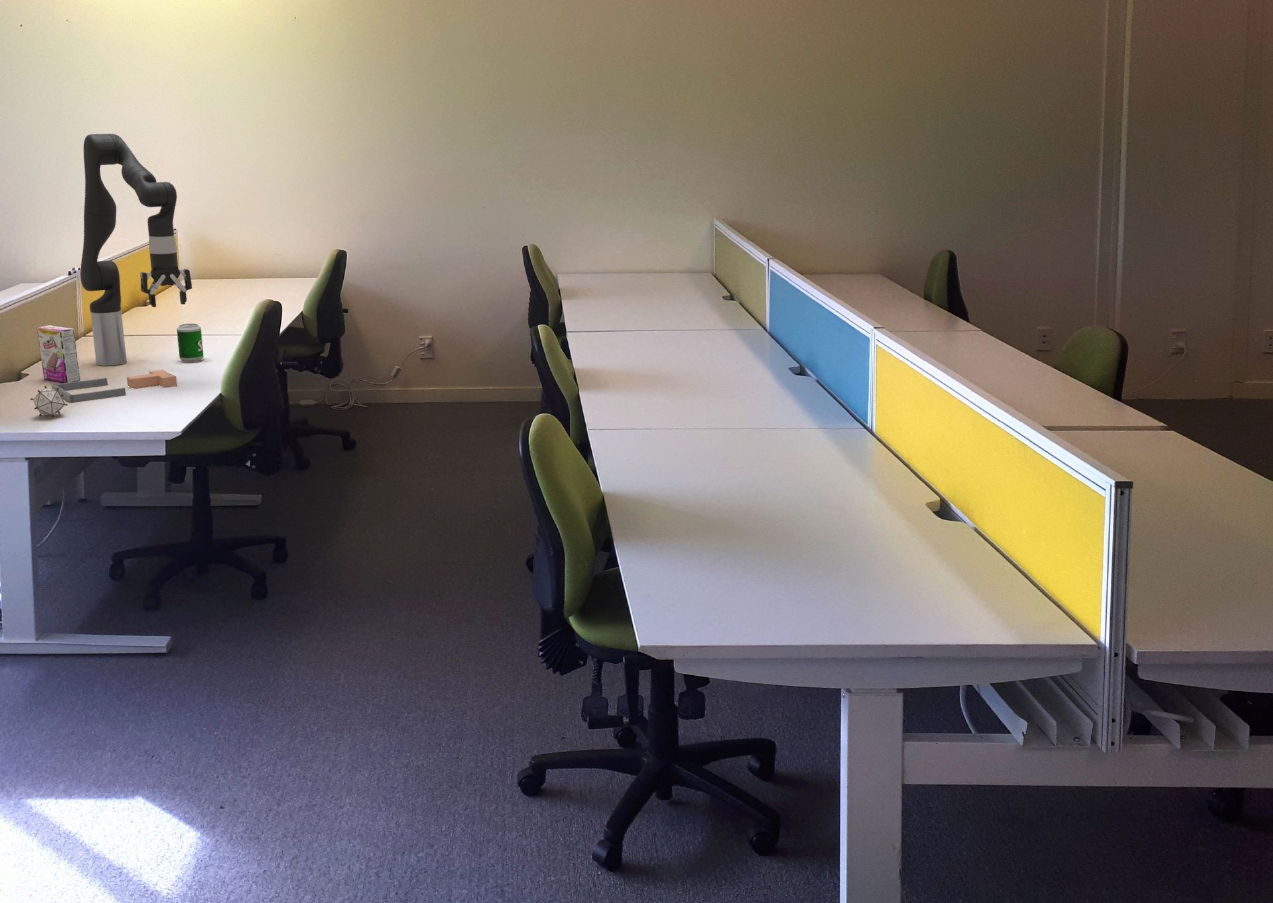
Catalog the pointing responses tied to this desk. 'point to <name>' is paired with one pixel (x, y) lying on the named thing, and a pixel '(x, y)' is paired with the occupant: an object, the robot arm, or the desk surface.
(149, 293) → the robot arm
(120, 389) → the charcoal bay
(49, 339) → the candy bar box
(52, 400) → the game die
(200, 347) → the soda can
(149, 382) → the T block
